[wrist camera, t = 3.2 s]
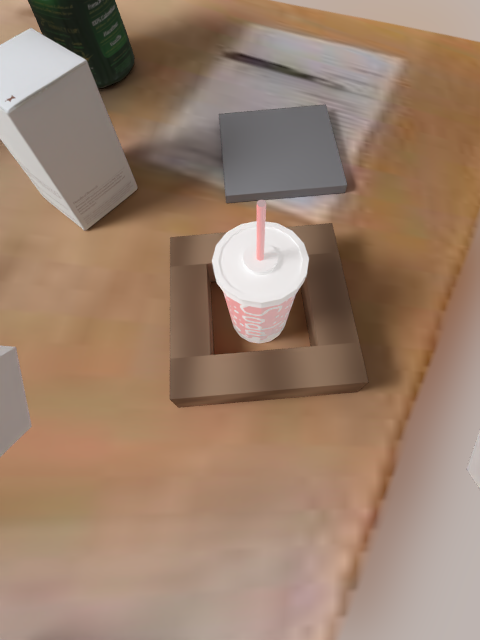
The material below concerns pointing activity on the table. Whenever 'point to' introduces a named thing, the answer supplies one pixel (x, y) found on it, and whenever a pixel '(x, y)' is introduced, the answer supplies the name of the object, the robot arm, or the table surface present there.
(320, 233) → the walnut holder
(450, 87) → the table surface
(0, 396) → the robot arm
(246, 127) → the slate coaster
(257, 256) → the beverage cup
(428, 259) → the table surface
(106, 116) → the supplement box
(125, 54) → the coffee jar
